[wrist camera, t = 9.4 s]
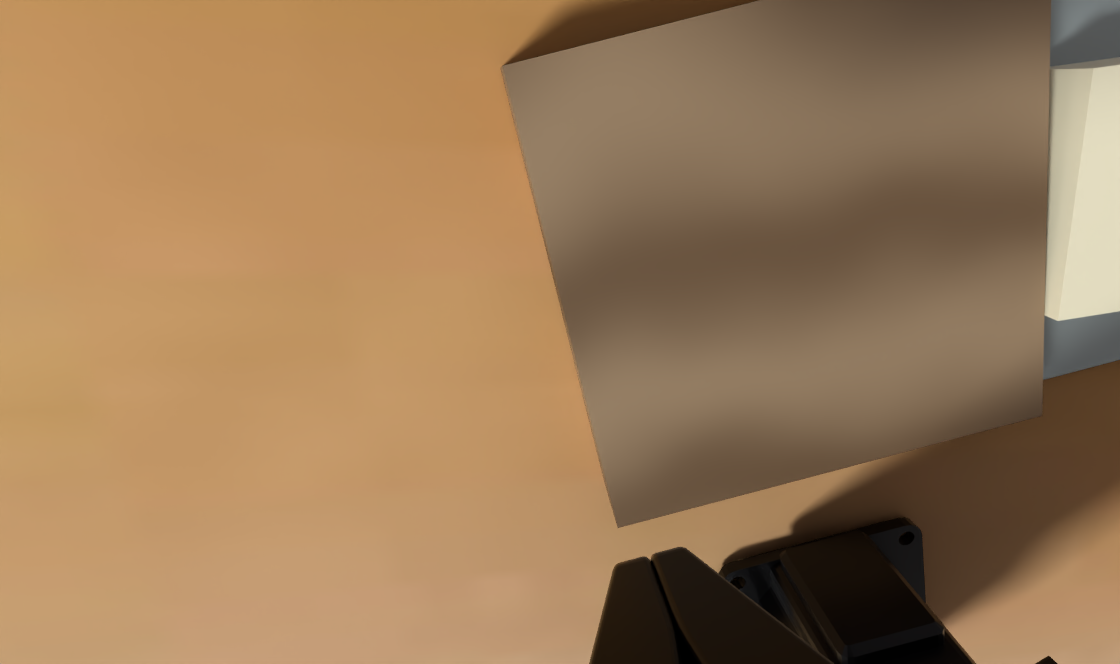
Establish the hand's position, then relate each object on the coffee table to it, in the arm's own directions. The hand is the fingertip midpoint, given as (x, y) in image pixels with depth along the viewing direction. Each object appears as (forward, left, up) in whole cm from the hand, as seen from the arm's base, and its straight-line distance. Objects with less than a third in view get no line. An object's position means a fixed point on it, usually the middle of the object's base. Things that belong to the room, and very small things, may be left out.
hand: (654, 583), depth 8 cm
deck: (0, -6, -11) cm, 13 cm away
